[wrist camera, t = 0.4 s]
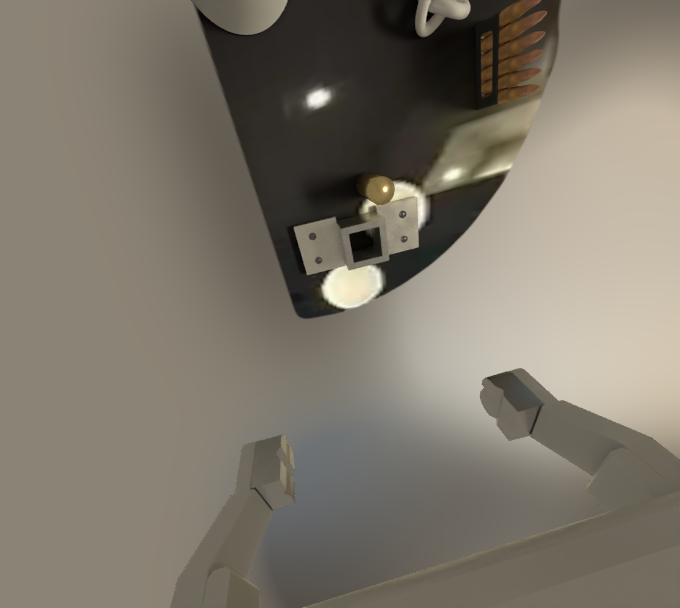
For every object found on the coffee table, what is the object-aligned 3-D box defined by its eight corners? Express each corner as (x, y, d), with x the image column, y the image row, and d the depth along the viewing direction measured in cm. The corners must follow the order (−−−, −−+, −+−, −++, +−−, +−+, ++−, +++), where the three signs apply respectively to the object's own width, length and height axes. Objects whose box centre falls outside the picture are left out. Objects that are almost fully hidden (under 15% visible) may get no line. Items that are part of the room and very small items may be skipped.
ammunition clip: (486, 106, 45) (545, 93, 34) (476, 110, 45) (532, 98, 34) (486, 21, 39) (557, -25, 29) (475, 25, 39) (541, -19, 29)
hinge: (293, 225, 49) (294, 234, 44) (414, 196, 50) (428, 201, 45) (306, 272, 54) (308, 285, 49) (416, 245, 55) (429, 255, 50)
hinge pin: (354, 175, 46) (367, 180, 39) (376, 170, 47) (393, 174, 39) (358, 198, 48) (371, 207, 41) (378, 193, 49) (395, 201, 41)
